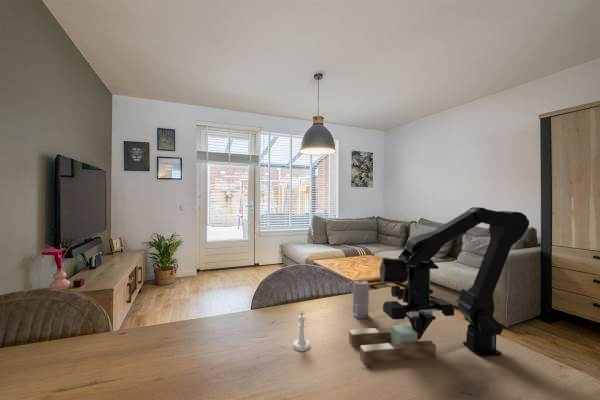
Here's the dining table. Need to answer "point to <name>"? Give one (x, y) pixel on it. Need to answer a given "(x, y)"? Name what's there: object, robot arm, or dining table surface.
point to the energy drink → (360, 299)
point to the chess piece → (301, 335)
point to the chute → (388, 346)
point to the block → (403, 334)
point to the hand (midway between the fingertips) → (417, 338)
